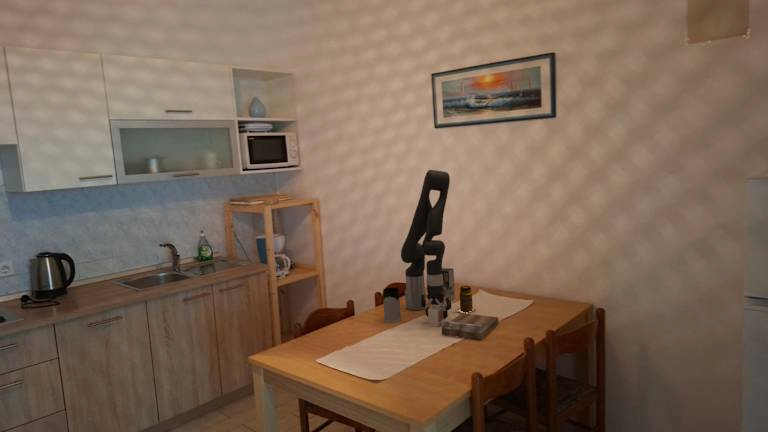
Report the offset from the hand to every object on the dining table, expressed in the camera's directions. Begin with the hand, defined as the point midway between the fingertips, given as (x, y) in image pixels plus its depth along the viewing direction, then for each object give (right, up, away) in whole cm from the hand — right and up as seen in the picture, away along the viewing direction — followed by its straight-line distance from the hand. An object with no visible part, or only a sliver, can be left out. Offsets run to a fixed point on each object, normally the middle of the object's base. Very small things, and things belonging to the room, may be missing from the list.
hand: (436, 317), depth 242 cm
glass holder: (-20, -3, +12) cm, 23 cm away
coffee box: (+8, +2, +39) cm, 40 cm away
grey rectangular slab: (+14, -4, -9) cm, 17 cm away
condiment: (+16, 0, +17) cm, 23 cm away
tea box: (0, -3, 0) cm, 3 cm away
